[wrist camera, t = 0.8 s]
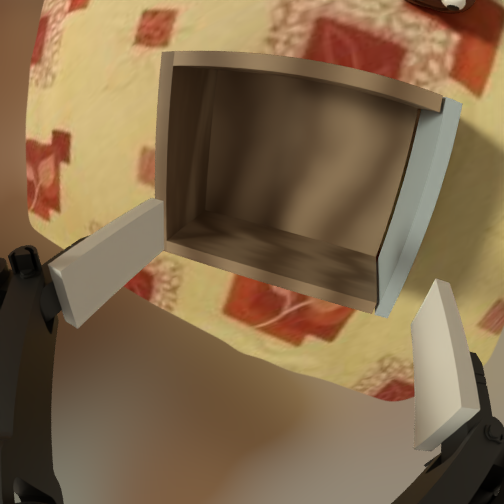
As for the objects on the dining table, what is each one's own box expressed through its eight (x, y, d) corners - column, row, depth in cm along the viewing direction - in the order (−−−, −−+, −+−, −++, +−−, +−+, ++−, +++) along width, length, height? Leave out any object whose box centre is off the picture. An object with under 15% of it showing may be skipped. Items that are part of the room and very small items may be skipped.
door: (374, 266, 31) (374, 314, 24) (423, 97, 21) (446, 97, 15) (385, 269, 31) (387, 318, 24) (435, 101, 21) (462, 103, 15)
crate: (199, 213, 36) (156, 248, 29) (212, 59, 27) (162, 51, 19) (372, 261, 32) (371, 313, 24) (418, 96, 22) (442, 95, 15)
